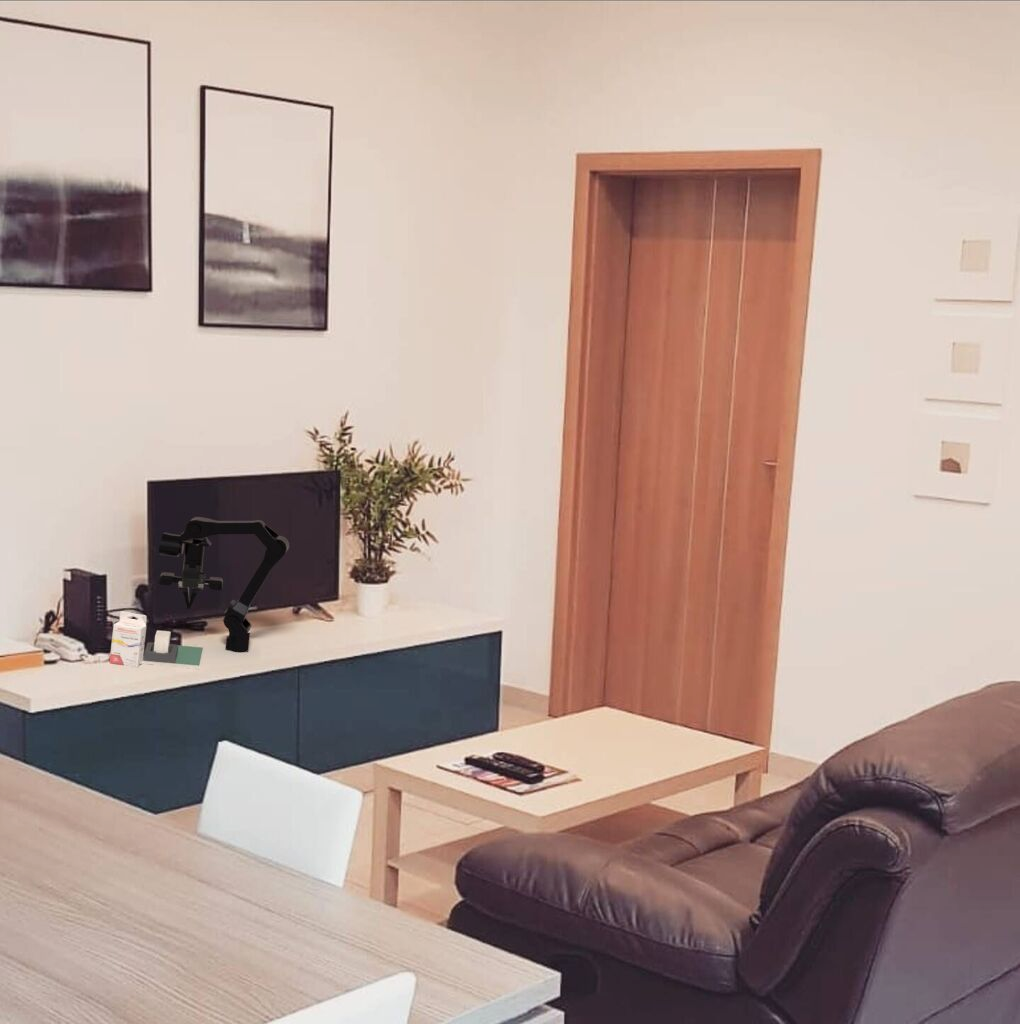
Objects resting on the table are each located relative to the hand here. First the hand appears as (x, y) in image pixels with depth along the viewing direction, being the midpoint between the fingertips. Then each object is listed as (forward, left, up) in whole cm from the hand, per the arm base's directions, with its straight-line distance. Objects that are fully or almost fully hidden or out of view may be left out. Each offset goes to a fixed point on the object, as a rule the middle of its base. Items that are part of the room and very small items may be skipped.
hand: (188, 608), depth 468 cm
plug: (+6, +17, -11) cm, 21 cm away
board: (+2, +13, -12) cm, 18 cm away
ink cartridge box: (+15, +24, -12) cm, 31 cm away
